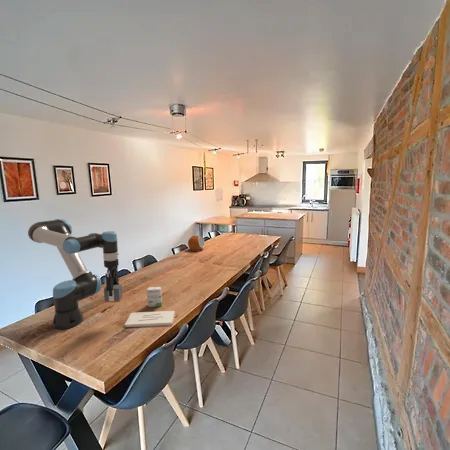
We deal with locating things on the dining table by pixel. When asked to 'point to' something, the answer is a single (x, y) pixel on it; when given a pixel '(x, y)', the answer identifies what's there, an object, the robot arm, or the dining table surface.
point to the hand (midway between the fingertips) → (113, 298)
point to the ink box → (154, 296)
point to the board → (150, 319)
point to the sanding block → (117, 293)
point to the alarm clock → (196, 243)
